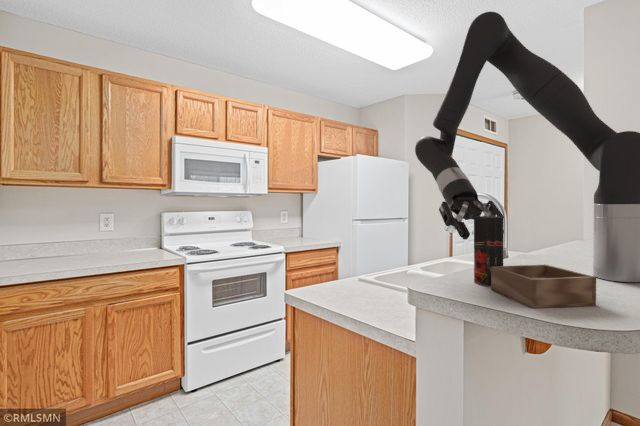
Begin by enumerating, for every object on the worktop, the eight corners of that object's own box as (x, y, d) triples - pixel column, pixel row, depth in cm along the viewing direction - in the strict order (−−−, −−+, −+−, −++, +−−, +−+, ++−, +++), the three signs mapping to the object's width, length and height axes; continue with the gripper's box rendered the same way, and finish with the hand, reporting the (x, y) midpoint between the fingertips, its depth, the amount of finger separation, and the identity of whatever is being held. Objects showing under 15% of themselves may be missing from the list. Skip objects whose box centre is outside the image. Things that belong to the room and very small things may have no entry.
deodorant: (508, 286, 75) (508, 217, 74) (481, 286, 75) (480, 217, 74) (495, 279, 80) (495, 215, 80) (469, 280, 81) (469, 216, 80)
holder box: (545, 287, 72) (545, 264, 72) (595, 305, 60) (596, 277, 60) (491, 290, 71) (491, 266, 71) (531, 308, 59) (532, 280, 59)
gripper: (435, 177, 86) (462, 227, 75) (487, 177, 88) (520, 225, 77) (425, 199, 91) (449, 248, 80) (474, 198, 93) (503, 245, 83)
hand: (484, 236), depth 79 cm, fingers open, 8 cm apart
